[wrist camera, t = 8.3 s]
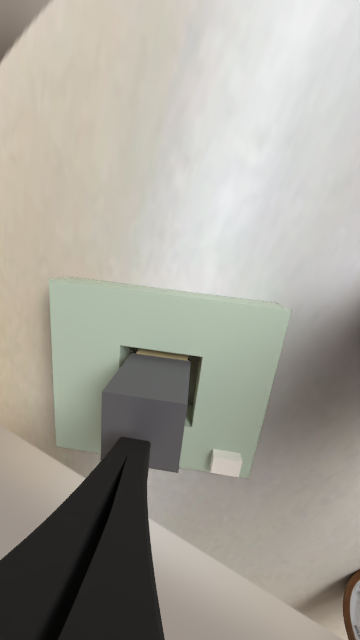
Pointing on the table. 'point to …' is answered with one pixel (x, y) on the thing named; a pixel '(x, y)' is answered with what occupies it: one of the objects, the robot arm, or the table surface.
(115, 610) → the robot arm
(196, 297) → the socket panel
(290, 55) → the table surface
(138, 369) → the plug
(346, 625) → the tin
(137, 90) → the table surface
